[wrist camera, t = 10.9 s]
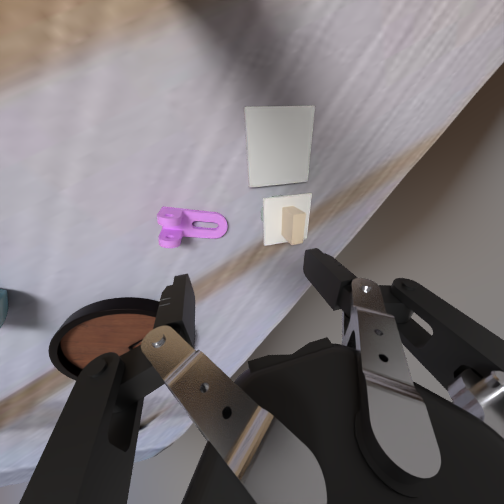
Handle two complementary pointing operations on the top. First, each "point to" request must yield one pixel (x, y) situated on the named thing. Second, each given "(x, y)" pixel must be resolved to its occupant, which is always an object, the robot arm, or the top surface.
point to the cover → (286, 218)
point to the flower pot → (3, 306)
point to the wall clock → (101, 332)
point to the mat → (278, 144)
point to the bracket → (187, 225)
